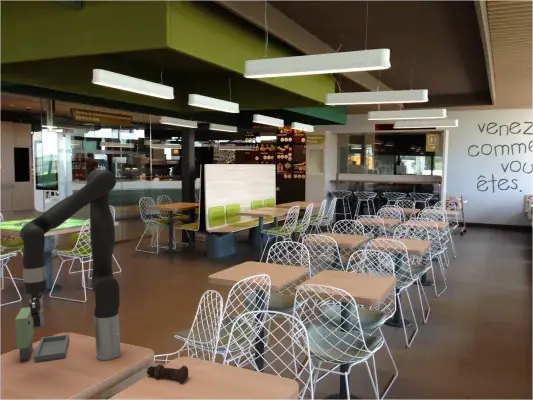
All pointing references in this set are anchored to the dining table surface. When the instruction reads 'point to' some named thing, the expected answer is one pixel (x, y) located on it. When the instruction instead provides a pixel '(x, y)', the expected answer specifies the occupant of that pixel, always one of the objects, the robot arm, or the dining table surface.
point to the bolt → (168, 372)
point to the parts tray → (52, 348)
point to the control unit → (24, 333)
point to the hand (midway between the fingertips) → (37, 324)
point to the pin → (40, 319)
